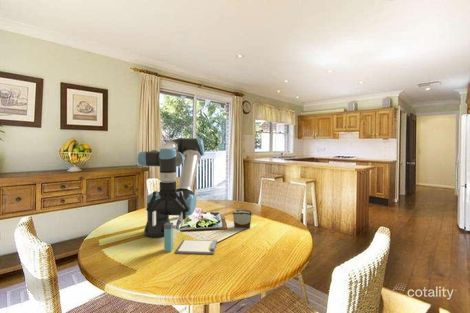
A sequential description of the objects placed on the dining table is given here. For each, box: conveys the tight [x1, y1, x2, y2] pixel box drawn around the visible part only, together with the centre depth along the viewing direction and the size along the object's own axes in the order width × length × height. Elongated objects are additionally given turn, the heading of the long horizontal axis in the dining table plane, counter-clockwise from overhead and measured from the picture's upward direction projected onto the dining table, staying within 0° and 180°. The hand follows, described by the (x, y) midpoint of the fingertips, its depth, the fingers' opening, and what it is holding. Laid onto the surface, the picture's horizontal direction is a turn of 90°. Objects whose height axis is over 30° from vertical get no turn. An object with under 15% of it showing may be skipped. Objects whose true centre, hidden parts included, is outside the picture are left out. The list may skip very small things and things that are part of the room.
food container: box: [232, 208, 253, 229], centre depth 146 cm, size 12×6×10 cm, turn 84°
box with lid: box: [163, 221, 174, 253], centre depth 114 cm, size 3×3×13 cm
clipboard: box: [174, 239, 218, 256], centre depth 118 cm, size 18×14×2 cm
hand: (168, 225), depth 113 cm, fingers open, 13 cm apart
